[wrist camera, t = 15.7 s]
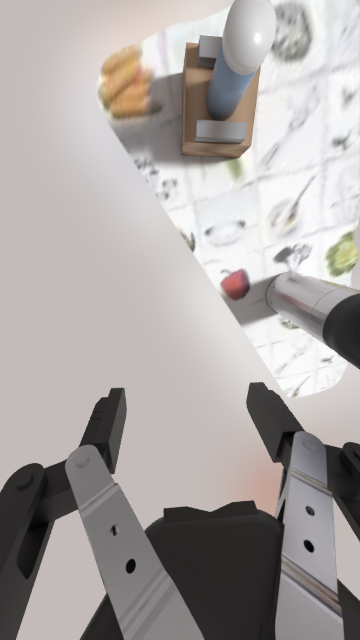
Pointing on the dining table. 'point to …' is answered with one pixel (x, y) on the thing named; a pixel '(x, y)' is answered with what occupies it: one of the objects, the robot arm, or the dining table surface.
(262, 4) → the ball-topped blue cylinder
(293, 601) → the robot arm
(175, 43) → the dining table surface
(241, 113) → the display plinth
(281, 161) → the dining table surface
